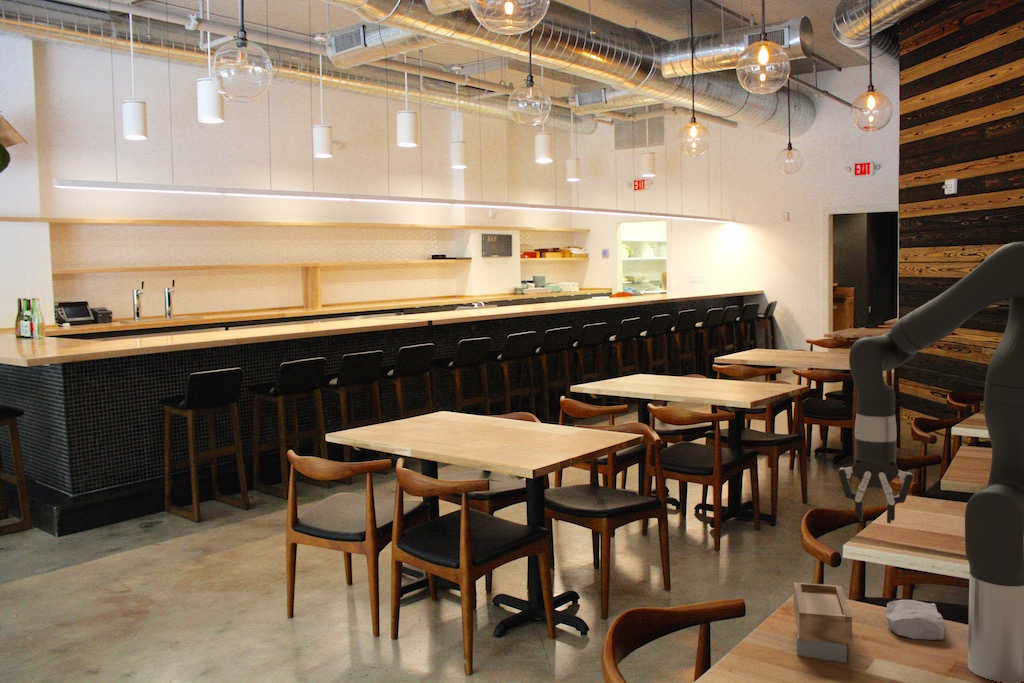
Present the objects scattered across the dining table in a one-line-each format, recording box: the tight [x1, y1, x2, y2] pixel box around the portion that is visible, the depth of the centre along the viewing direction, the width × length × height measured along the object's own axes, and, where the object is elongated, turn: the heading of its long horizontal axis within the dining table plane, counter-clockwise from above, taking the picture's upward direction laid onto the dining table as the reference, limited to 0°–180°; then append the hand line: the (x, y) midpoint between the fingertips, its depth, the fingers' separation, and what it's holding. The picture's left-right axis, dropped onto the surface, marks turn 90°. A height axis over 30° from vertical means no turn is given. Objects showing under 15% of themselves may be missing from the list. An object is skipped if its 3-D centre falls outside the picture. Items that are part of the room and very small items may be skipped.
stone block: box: [885, 599, 945, 641], centre depth 161 cm, size 12×5×10 cm
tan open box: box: [793, 582, 853, 646], centre depth 155 cm, size 9×15×5 cm, turn 165°
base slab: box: [796, 633, 848, 663], centre depth 155 cm, size 8×15×4 cm, turn 157°
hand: (874, 520), depth 162 cm, fingers open, 4 cm apart
